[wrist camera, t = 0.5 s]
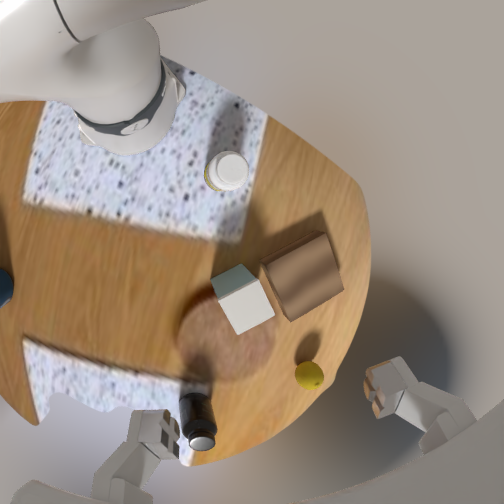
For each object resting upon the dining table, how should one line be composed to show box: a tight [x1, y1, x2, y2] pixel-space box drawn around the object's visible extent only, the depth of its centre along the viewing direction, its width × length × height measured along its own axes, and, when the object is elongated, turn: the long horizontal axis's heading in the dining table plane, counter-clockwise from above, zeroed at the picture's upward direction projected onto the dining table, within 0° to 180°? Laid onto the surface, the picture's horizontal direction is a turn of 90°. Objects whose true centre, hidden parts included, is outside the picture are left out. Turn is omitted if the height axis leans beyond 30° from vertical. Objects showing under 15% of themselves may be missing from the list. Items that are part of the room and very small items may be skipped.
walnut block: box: [259, 230, 344, 322], centre depth 49 cm, size 12×12×4 cm
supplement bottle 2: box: [204, 151, 249, 192], centre depth 38 cm, size 6×6×10 cm
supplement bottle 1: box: [179, 393, 217, 451], centre depth 45 cm, size 7×7×12 cm
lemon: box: [295, 361, 324, 390], centre depth 52 cm, size 6×6×8 cm
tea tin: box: [210, 263, 275, 335], centre depth 43 cm, size 6×6×10 cm
